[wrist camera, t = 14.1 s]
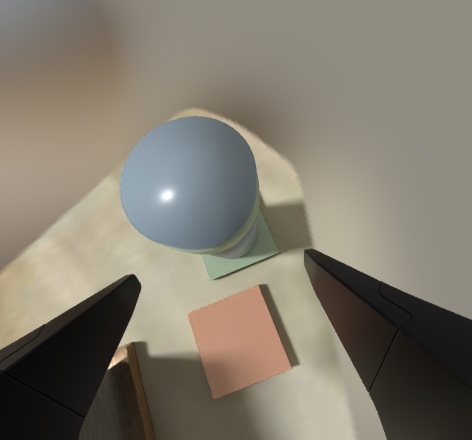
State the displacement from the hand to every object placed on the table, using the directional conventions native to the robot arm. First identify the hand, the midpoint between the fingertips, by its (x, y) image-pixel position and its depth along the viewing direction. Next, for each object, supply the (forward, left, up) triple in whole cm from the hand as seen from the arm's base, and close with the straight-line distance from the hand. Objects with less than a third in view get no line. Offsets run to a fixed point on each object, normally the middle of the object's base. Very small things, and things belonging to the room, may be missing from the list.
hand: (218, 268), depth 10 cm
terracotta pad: (-6, +2, -9) cm, 11 cm away
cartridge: (+3, -1, -8) cm, 9 cm away
